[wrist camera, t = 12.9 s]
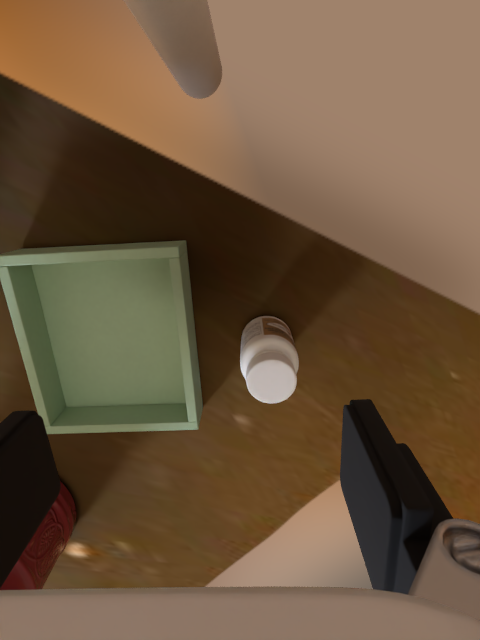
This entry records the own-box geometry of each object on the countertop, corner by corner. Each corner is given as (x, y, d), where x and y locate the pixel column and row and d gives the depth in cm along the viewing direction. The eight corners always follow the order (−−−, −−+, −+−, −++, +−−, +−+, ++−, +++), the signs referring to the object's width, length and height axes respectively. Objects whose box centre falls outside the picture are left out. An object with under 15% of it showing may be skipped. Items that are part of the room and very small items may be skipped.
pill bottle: (301, 338, 32) (317, 382, 24) (265, 369, 33) (270, 421, 26) (267, 304, 31) (272, 339, 23) (230, 337, 32) (225, 381, 25)
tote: (21, 248, 30) (-7, 255, 26) (186, 240, 29) (178, 246, 26) (62, 412, 35) (43, 434, 32) (203, 407, 34) (198, 429, 31)
